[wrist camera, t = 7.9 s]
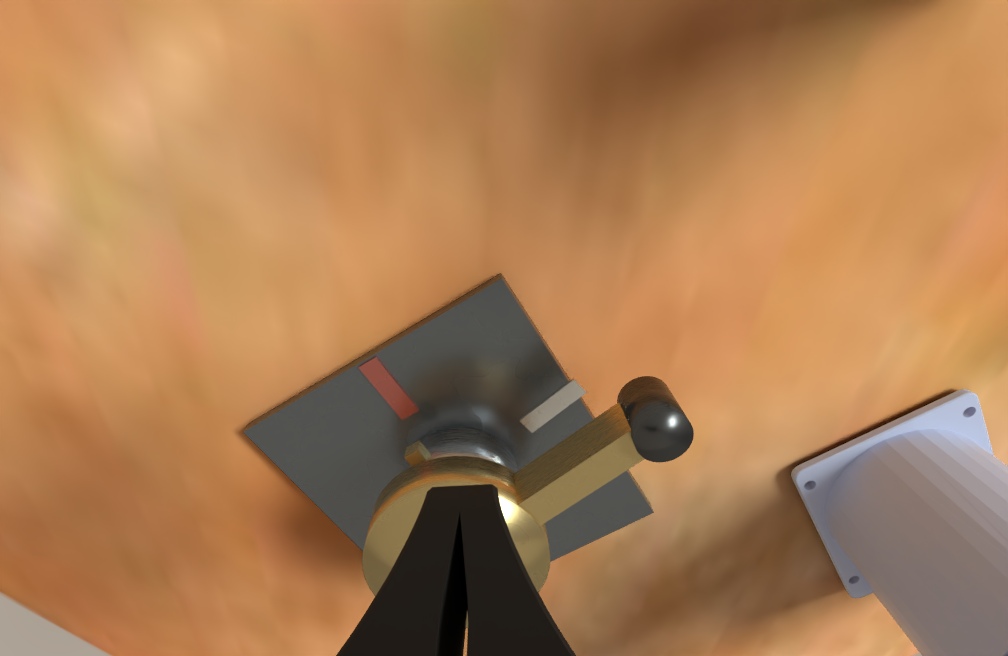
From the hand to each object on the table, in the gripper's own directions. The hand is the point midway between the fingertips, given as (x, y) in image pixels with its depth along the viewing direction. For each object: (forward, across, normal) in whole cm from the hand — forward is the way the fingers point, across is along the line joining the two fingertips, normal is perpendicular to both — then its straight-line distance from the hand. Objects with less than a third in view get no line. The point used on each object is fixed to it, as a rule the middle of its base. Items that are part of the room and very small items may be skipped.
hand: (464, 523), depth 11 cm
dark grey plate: (+10, +1, +7) cm, 12 cm away
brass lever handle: (+7, -2, +5) cm, 9 cm away
